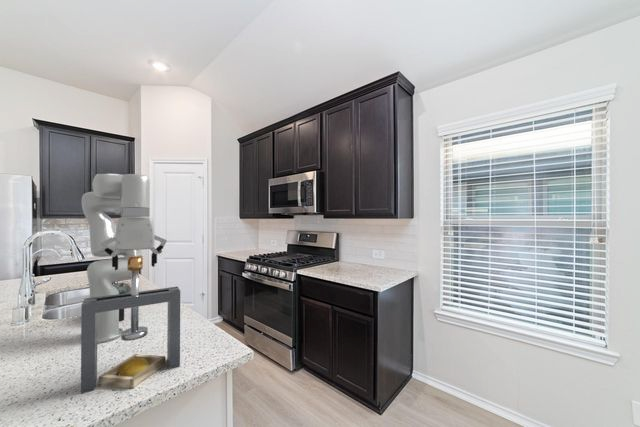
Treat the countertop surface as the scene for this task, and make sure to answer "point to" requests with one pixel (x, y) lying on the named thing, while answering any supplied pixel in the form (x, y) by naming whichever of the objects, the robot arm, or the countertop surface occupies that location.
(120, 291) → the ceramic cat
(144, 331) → the plunger
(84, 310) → the frame
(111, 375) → the cradle
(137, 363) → the bread roll
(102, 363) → the countertop surface
